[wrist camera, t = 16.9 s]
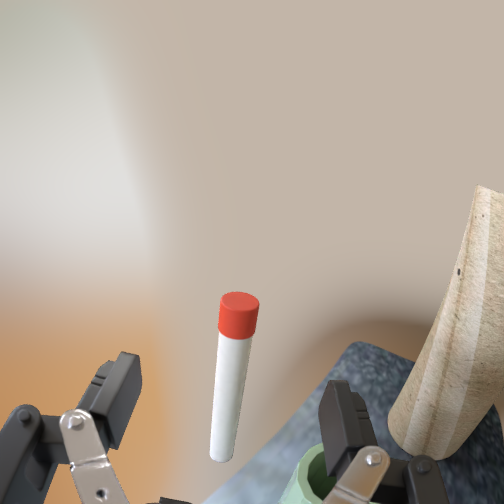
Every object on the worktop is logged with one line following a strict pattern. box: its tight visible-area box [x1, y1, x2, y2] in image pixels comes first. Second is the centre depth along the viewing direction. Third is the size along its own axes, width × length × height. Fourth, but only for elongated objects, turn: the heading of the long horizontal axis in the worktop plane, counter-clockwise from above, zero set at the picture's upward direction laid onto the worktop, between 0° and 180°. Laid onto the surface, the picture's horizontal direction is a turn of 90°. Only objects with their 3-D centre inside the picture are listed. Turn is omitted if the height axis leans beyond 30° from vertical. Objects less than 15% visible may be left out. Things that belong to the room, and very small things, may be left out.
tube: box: [388, 185, 504, 460], centre depth 23 cm, size 10×10×25 cm
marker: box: [210, 292, 259, 462], centre depth 21 cm, size 2×2×16 cm
